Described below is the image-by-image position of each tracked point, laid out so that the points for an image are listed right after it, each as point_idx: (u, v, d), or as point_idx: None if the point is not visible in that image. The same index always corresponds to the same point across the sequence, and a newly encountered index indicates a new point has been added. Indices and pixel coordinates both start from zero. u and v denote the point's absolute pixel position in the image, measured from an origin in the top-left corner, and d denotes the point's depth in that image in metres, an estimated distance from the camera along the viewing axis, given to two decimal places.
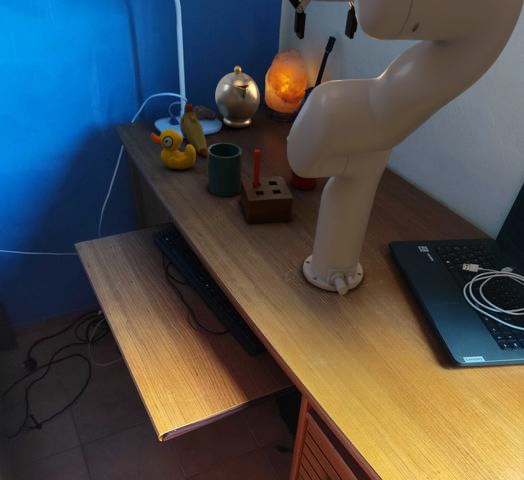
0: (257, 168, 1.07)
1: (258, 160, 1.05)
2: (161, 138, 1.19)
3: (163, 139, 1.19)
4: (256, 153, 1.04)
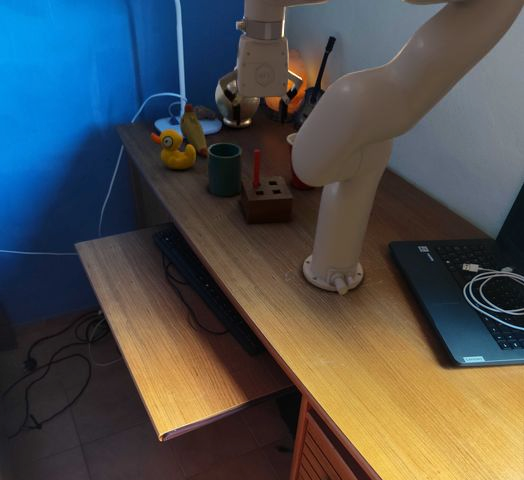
0: (257, 168, 1.07)
1: (258, 160, 1.05)
2: (161, 138, 1.19)
3: (163, 139, 1.19)
4: (256, 153, 1.04)
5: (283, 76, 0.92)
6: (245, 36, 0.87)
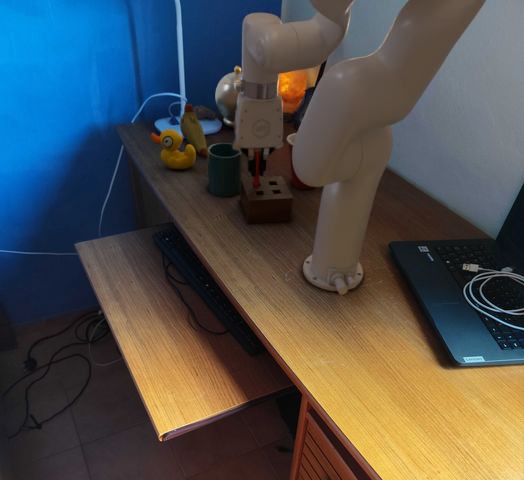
0: (257, 168, 1.07)
1: (258, 160, 1.05)
2: (161, 138, 1.19)
3: (163, 139, 1.19)
4: (256, 153, 1.04)
5: (278, 129, 0.99)
6: (243, 95, 0.95)
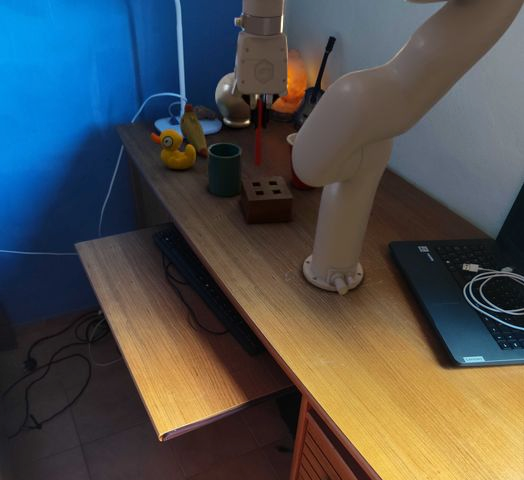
0: (259, 119, 0.99)
1: (261, 110, 0.97)
2: (161, 138, 1.19)
3: (163, 139, 1.19)
4: (258, 102, 0.96)
5: (282, 72, 0.91)
6: (244, 32, 0.87)
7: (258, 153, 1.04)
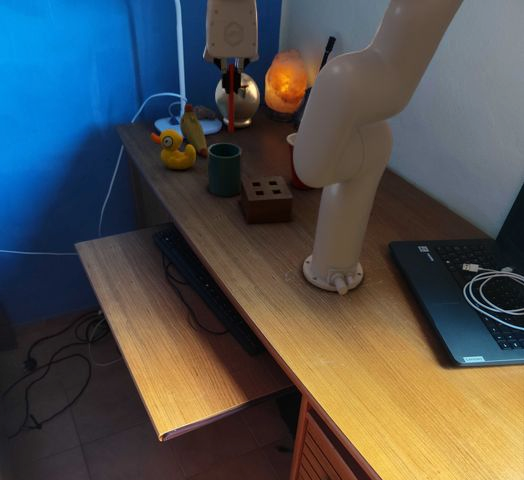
0: (231, 84, 1.00)
1: (232, 75, 0.99)
2: (161, 138, 1.19)
3: (163, 139, 1.19)
4: (230, 66, 0.97)
5: (252, 36, 0.92)
6: None
7: (231, 119, 1.05)
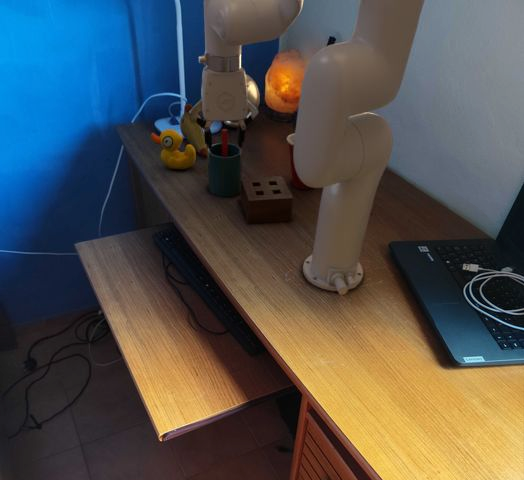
0: (225, 147, 1.12)
1: (225, 139, 1.11)
2: (161, 138, 1.19)
3: (163, 139, 1.19)
4: (223, 132, 1.10)
5: (243, 102, 1.03)
6: (207, 68, 0.99)
7: None
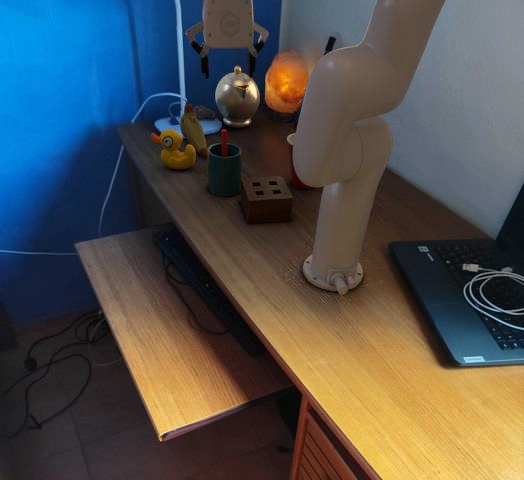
0: (225, 147, 1.12)
1: (225, 139, 1.11)
2: (161, 138, 1.19)
3: (163, 139, 1.19)
4: (223, 132, 1.09)
5: (248, 26, 0.94)
6: None
7: None
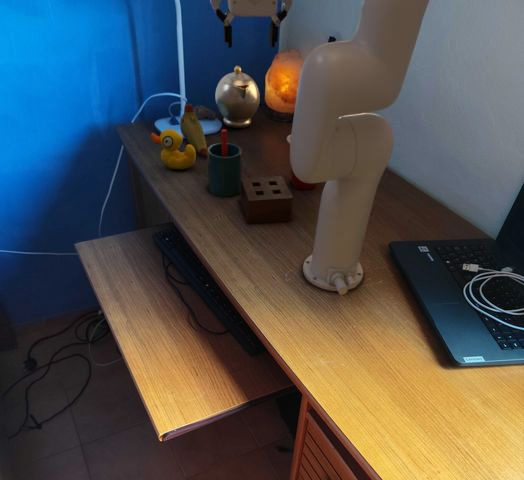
0: (225, 147, 1.12)
1: (225, 139, 1.11)
2: (161, 138, 1.19)
3: (163, 139, 1.19)
4: (223, 132, 1.09)
5: None
6: None
7: None
